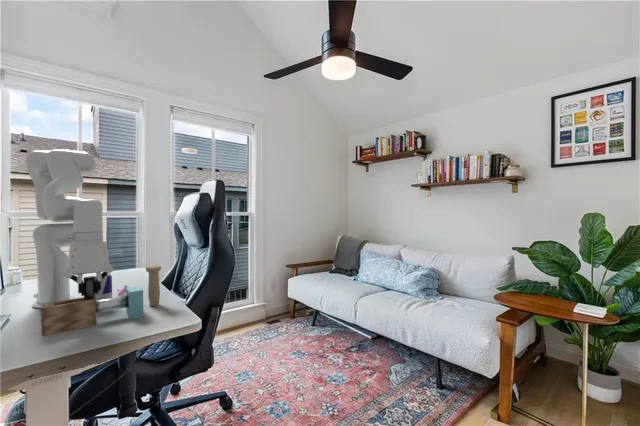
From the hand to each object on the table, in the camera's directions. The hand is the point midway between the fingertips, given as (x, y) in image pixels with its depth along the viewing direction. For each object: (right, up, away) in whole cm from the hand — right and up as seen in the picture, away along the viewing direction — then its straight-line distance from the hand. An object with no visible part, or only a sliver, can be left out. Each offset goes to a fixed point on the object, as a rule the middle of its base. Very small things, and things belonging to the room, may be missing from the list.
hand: (89, 293), depth 97 cm
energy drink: (-8, -10, +17) cm, 21 cm away
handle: (+11, -10, +18) cm, 23 cm away
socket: (+10, -10, +8) cm, 16 cm away
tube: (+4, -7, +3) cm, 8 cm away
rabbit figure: (-7, -10, +29) cm, 32 cm away
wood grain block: (-4, -10, -3) cm, 11 cm away
